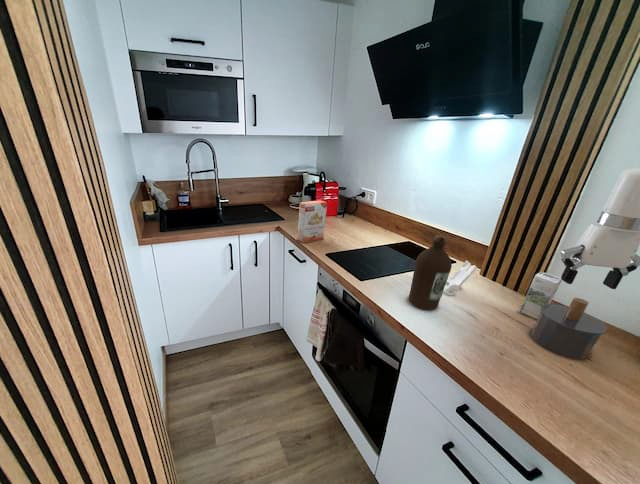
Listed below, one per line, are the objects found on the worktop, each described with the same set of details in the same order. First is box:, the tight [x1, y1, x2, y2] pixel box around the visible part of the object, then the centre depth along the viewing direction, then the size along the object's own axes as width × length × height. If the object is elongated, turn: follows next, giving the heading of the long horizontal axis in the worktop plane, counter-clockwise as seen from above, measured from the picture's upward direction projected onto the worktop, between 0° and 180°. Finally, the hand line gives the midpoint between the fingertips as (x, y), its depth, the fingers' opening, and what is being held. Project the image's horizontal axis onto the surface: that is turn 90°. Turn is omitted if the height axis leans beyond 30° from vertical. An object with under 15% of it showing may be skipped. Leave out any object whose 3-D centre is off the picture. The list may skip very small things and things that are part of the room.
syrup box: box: [519, 271, 563, 321], centre depth 93 cm, size 6×6×14 cm
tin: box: [530, 312, 601, 360], centre depth 81 cm, size 12×12×8 cm
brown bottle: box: [408, 234, 452, 311], centre depth 95 cm, size 11×11×25 cm
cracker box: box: [297, 200, 328, 244], centre depth 152 cm, size 14×6×21 cm, turn 120°
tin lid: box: [540, 297, 608, 336], centre depth 78 cm, size 13×13×7 cm
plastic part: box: [443, 260, 478, 296], centre depth 107 cm, size 8×10×12 cm
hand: (586, 284), depth 75 cm, fingers open, 9 cm apart
